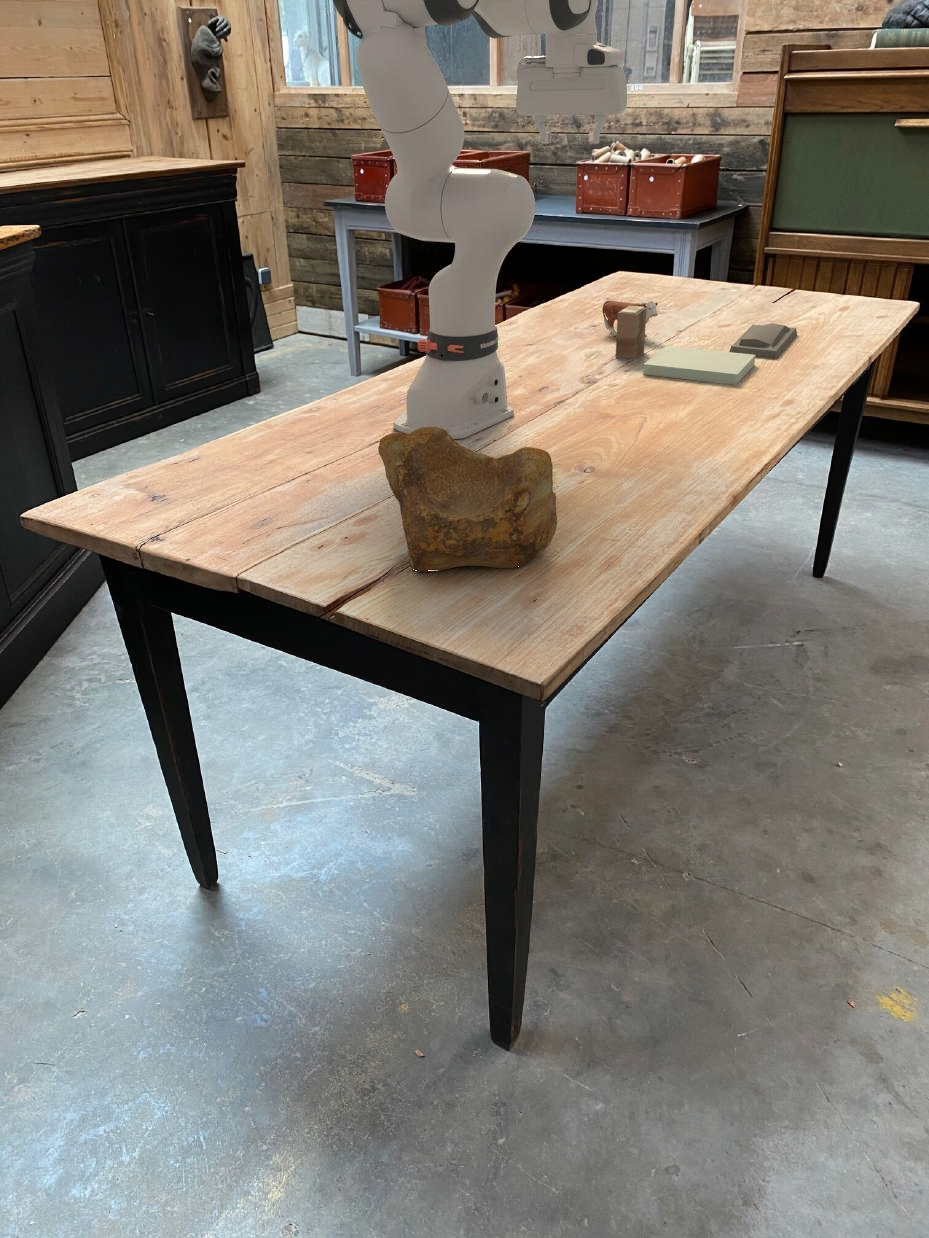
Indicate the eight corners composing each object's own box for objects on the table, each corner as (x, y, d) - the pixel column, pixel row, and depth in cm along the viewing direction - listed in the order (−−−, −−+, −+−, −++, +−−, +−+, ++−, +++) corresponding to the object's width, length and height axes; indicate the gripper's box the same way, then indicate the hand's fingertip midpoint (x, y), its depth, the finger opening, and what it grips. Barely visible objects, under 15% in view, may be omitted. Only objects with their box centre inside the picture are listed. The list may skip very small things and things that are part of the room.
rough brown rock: (344, 577, 116) (330, 470, 108) (400, 514, 129) (392, 412, 120) (520, 613, 109) (520, 501, 100) (562, 542, 121) (565, 437, 113)
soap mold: (797, 337, 203) (800, 321, 201) (777, 362, 188) (779, 344, 187) (749, 333, 208) (751, 317, 206) (726, 356, 193) (728, 339, 191)
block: (634, 359, 191) (636, 313, 186) (615, 357, 192) (617, 311, 188) (643, 352, 195) (646, 306, 190) (625, 350, 197) (628, 305, 192)
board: (736, 385, 174) (737, 374, 173) (643, 374, 182) (643, 364, 181) (754, 365, 185) (755, 354, 184) (665, 355, 192) (666, 346, 191)
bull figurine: (652, 342, 201) (655, 303, 197) (598, 334, 209) (599, 296, 204) (662, 338, 204) (665, 299, 200) (608, 330, 211) (609, 292, 207)
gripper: (509, 57, 166) (510, 145, 173) (619, 53, 157) (616, 145, 164) (524, 56, 170) (524, 141, 178) (632, 52, 162) (628, 141, 169)
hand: (569, 143), depth 171 cm, fingers open, 8 cm apart
